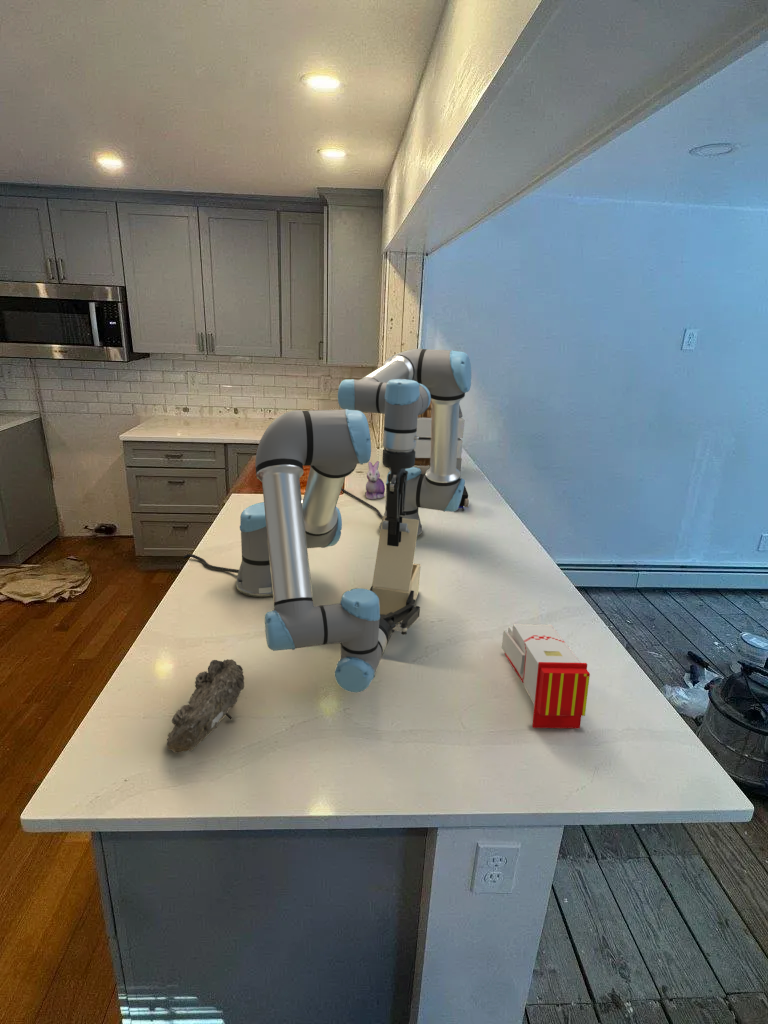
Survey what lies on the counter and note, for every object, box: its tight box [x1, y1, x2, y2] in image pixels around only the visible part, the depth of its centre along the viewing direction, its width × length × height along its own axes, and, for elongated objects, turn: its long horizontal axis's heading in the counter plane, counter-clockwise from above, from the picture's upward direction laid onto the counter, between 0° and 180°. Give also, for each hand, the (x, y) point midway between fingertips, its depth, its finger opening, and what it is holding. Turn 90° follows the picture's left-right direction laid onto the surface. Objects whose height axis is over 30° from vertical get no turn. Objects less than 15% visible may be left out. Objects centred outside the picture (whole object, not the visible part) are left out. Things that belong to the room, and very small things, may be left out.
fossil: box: [166, 658, 245, 754], centre depth 106 cm, size 22×10×15 cm
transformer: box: [389, 401, 465, 475], centre depth 268 cm, size 34×33×41 cm
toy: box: [501, 623, 591, 729], centre depth 120 cm, size 12×13×30 cm
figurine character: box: [455, 485, 470, 512], centre depth 229 cm, size 7×8×15 cm
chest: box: [372, 562, 421, 624], centre depth 150 cm, size 17×9×9 cm, turn 167°
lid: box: [371, 515, 419, 592], centre depth 139 cm, size 18×9×8 cm
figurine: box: [364, 460, 386, 500], centre depth 235 cm, size 9×10×15 cm
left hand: (392, 592), depth 145 cm, fingers closed on chest, 9 cm apart
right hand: (394, 543), depth 138 cm, fingers closed on lid, 2 cm apart
